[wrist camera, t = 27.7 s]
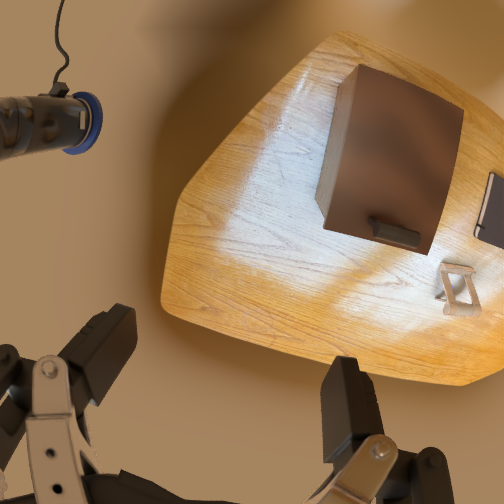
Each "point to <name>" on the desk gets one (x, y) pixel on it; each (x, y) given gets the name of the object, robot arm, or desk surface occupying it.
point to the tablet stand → (451, 304)
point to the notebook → (492, 213)
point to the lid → (394, 162)
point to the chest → (335, 142)
